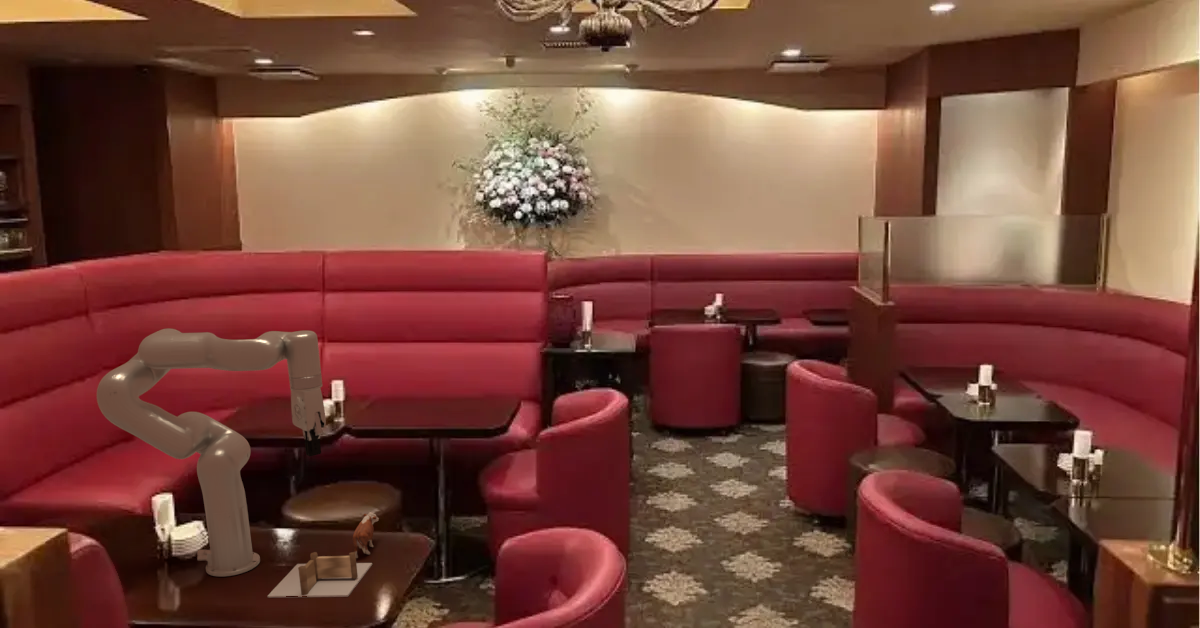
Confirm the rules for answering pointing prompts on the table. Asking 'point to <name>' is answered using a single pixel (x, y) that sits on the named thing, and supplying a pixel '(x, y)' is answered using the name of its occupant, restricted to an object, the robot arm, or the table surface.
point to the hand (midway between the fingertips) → (313, 454)
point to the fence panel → (335, 566)
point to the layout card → (319, 584)
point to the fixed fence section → (307, 577)
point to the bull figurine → (364, 533)
